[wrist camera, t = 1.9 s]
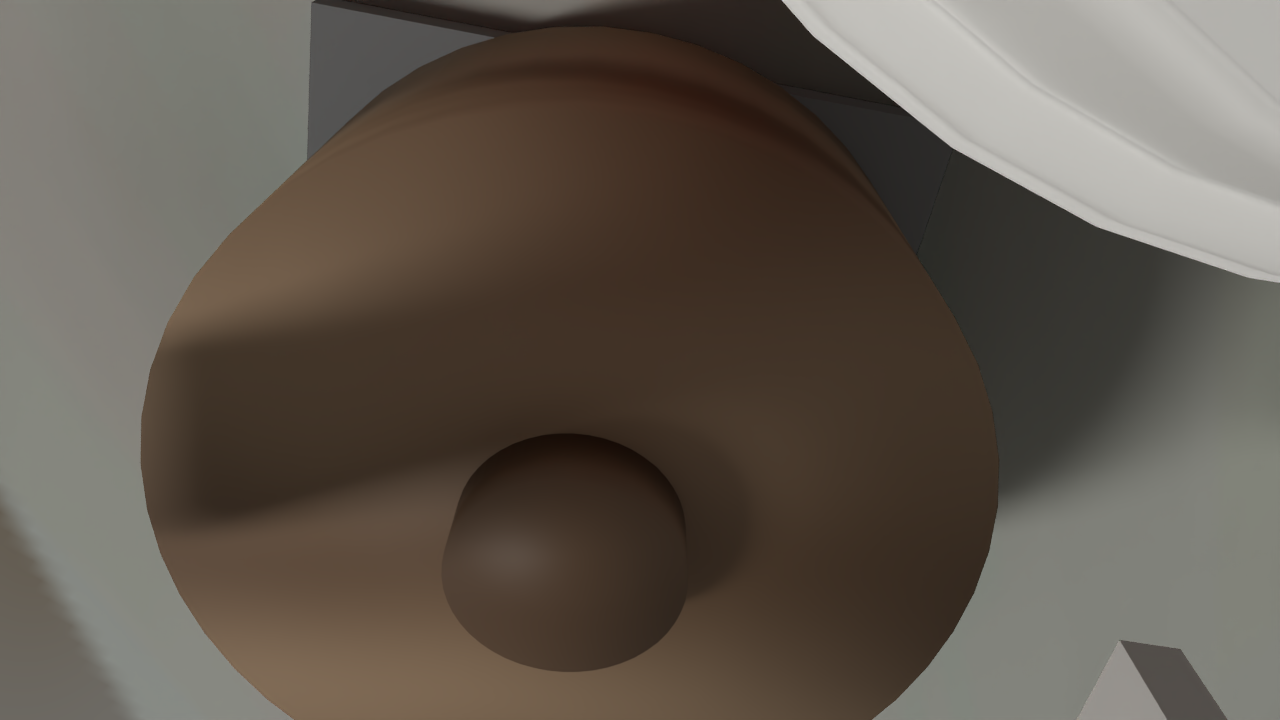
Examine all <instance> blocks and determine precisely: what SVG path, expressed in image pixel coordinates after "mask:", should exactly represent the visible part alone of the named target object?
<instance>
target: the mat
mask: <svg viewBox="0 0 1280 720" xmlns="http://www.w3.org/2000/svg"><path fill="white" fill-rule="evenodd" d="M506 34H511V32H505V31H500V30H495V29H490V28H485V27H479V26H474V25H469V24H464V23H459V22H453V21H448V20H443V19H438V18H433V17H427V16H422V15H417V14H412V13H407V12H401V11H396V10H391V9H386V8H381V7H376V6H370V5H365V4H360V3H355V2H350V1H344V0H315V1H313V2H312V4H311V41H310V77H309V114H308V151H307V160H308V159H309V158H310V157H311V156H312V155H313V154H314V153H315V152H317V151H318V150H319V149H320V148H321V147H322V146H323V145H324V144H325V143H326V142H327V141H328V140H329V139H330V138H331V137H332V136H333V135H334V134H335V133H336V132H338V131H339V130H340V129H341V128H342V127H343V126H344V125H345V124H346V123H347V122H348V121H349V120H350V119H351V118H352V117H354V116H355V115H356V114H357V113H358V112H359V111H360V110H362V109H363V108H364V107H365V106H366V105H367V104H368V103H369V102H371V101H372V100H373V99H374V98H375V97H376V96H377V95H379V94H380V93H381V92H382V91H383V90H385V89H386V88H388V87H390V86H391V85H393V84H394V83H396V82H397V81H399V80H400V79H402V78H403V77H405V76H407V75H408V74H410V73H411V72H413V71H414V70H416V69H417V68H419V67H421V66H423V65H425V64H427V63H429V62H432V61H434V60H436V59H438V58H440V57H442V56H445V55H447V54H449V53H451V52H453V51H456V50H458V49H460V48H462V47H466V46H469V45H472V44H476V43H479V42H483V41H486V40H489V39H493V38H496V37H499V36H502V35H506ZM775 84H776V83H775ZM777 85H778V86H780V87H781V88H783V89H784V90H785V91H787V92H788V93H789V94H790V95H791V96H793V97H794V98H795V99H796V100H798V101H799V102H800V103H801V104H803V105H804V106H805V107H806V108H808V109H809V110H810V111H811V112H813V113H814V114H815V115H816V116H817V117H818V118H819V119H820V120H821V121H822V122H823V123H824V124H825V125H826V126H827V127H828V128H829V129H830V130H831V132H832V133H833V134H834V135H835V136H836V137H837V138H838V139H839V140H840V141H841V142H842V143H843V144H844V145H845V146H846V148H847V149H848V150H849V152H850V153H851V155H852V156H853V158H854V159H855V160H856V162H857V163H858V165H859V166H860V168H861V169H862V170H863V172H864V173H865V175H866V176H867V177H868V179H869V180H870V182H871V183H872V185H873V187H874V188H875V190H876V191H877V193H878V195H879V196H880V198H881V199H882V201H883V203H884V204H885V206H886V207H887V209H888V211H889V212H890V214H891V216H892V217H893V219H894V220H895V222H896V224H897V225H898V227H899V228H900V230H901V232H902V233H903V235H904V236H905V238H906V240H907V241H908V243H909V244H910V246H911V248H912V249H913V251H914V253H915V254H916V256H917V253H918V250H919V247H920V244H921V241H922V238H923V235H924V232H925V229H926V226H927V223H928V221H929V218H930V215H931V212H932V209H933V206H934V203H935V200H936V197H937V194H938V191H939V188H940V185H941V182H942V179H943V177H944V174H945V171H946V168H947V165H948V162H949V159H950V156H951V153H952V150H953V148H952V147H950V146H949V145H948V144H947V143H945V142H944V141H943V140H942V139H940V138H939V137H938V136H937V135H935V134H934V133H933V132H932V131H930V130H929V129H928V128H927V127H926V126H924V125H923V124H922V123H921V122H919V121H918V120H917V119H916V118H914V117H913V116H912V115H911V114H909V113H908V112H907V111H906V110H904V109H903V108H900V107H895V106H890V105H885V104H880V103H874V102H869V101H864V100H859V99H854V98H848V97H843V96H838V95H833V94H828V93H823V92H817V91H812V90H807V89H802V88H797V87H791V86H786V85H781V84H777Z"/></svg>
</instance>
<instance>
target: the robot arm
mask: <svg viewBox="0 0 1280 720" xmlns="http://www.w3.org/2000/svg"><path fill="white" fill-rule="evenodd" d="M1077 720H1227V718H1226V717H1225V715H1224V714H1223V712H1222V711H1221V709H1220V708H1219V706H1218V705H1217V703H1216V702H1215V700H1214V699H1213V697H1212V696H1211V694H1210V693H1209V691H1208V690H1207V688H1206V687H1205V685H1204V684H1203V682H1202V681H1201V679H1200V678H1199V676H1198V675H1197V673H1196V672H1195V670H1194V669H1193V667H1192V666H1191V664H1190V663H1189V661H1188V660H1187V658H1186V657H1185V655H1184V654H1183V652H1182V651H1181V649H1176V648H1169V647H1163V646H1156V645H1149V644H1143V643H1136V642H1129V641H1123V640H1119V642H1118V644H1117V645H1116V647H1115V649H1114V651H1113V653H1112V655H1111V657H1110V658H1109V660H1108V662H1107V664H1106V666H1105V668H1104V670H1103V672H1102V673H1101V675H1100V677H1099V679H1098V681H1097V683H1096V685H1095V686H1094V688H1093V690H1092V692H1091V694H1090V696H1089V698H1088V699H1087V701H1086V703H1085V705H1084V707H1083V709H1082V711H1081V713H1080V714H1079V716H1078V718H1077Z"/></svg>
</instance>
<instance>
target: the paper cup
mask: <svg viewBox="0 0 1280 720" xmlns="http://www.w3.org/2000/svg"><path fill="white" fill-rule="evenodd" d="M782 1H783V2H784V3H785V5H786V6H787V7H788V8H789V9H790V10H791V11H792V13H793V14H794V15H795V16H796V17H797V18H798V19H799V21H800V22H801V23H802V24H803V25H804V26H805V27H806V28H807V30H808V31H809V32H810V33H811V34H812V35H813V36H814V37H815V38H816V39H817V40H819V41H820V42H821V43H822V44H824V45H825V46H826V47H827V48H829V49H830V50H831V51H832V52H834V53H835V54H836V55H837V56H839V57H840V58H841V59H842V60H844V61H845V62H846V63H847V64H849V65H850V66H851V67H852V68H854V69H855V70H856V71H857V72H858V73H860V74H861V75H862V76H863V77H865V78H866V79H867V80H868V81H870V82H871V83H872V84H873V85H875V86H876V87H877V88H878V89H880V90H881V91H882V92H883V93H885V94H886V95H887V96H888V97H890V98H891V99H892V100H893V101H894V102H896V103H897V104H898V105H899V106H901V107H902V108H903V109H904V110H906V111H907V112H908V113H909V114H911V115H912V116H913V117H914V118H916V119H917V120H918V121H919V122H921V123H922V124H923V125H924V126H926V127H927V128H928V129H929V130H930V131H932V132H933V133H934V134H935V135H937V136H938V137H939V138H940V139H942V140H943V141H944V142H945V143H947V144H948V145H949V146H950V147H952V148H953V149H955V150H957V151H959V152H961V153H963V154H964V155H966V156H968V157H970V158H972V159H974V160H975V161H977V162H979V163H981V164H983V165H984V166H986V167H988V168H990V169H992V170H994V171H995V172H997V173H999V174H1001V175H1003V176H1005V177H1006V178H1008V179H1010V180H1012V181H1014V182H1015V183H1017V184H1019V185H1021V186H1023V187H1025V188H1026V189H1028V190H1030V191H1032V192H1034V193H1036V194H1037V195H1039V196H1041V197H1043V198H1045V199H1047V200H1048V201H1050V202H1052V203H1054V204H1056V205H1057V206H1059V207H1061V208H1063V209H1065V210H1067V211H1068V212H1070V213H1072V214H1074V215H1076V216H1078V217H1079V218H1081V219H1083V220H1085V221H1087V222H1088V223H1090V224H1092V225H1094V226H1096V227H1098V228H1101V229H1104V230H1107V231H1110V232H1113V233H1116V234H1119V235H1122V236H1125V237H1128V238H1131V239H1134V240H1137V241H1140V242H1143V243H1146V244H1149V245H1152V246H1155V247H1158V248H1161V249H1164V250H1167V251H1170V252H1173V253H1176V254H1179V255H1182V256H1185V257H1188V258H1191V259H1194V260H1197V261H1200V262H1203V263H1206V264H1209V265H1212V266H1215V267H1218V268H1221V269H1224V270H1227V271H1230V272H1233V273H1236V274H1239V275H1241V276H1244V277H1247V278H1253V279H1259V280H1265V281H1272V282H1278V283H1280V0H782Z"/></svg>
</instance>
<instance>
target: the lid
mask: <svg viewBox="0 0 1280 720" xmlns="http://www.w3.org/2000/svg"><path fill="white" fill-rule="evenodd" d="M141 470H142V477H143V484H144V491H145V498H146V505H147V511H148V514H149V517H150V520H151V524H152V527H153V530H154V534H155V537H156V540H157V543H158V547H159V550H160V553H161V556H162V558H163V560H164V562H165V564H166V566H167V568H168V570H169V573H170V575H171V577H172V579H173V581H174V583H175V585H176V587H177V590H178V592H179V594H180V596H181V597H182V599H183V600H184V602H185V603H186V605H187V606H188V608H189V610H190V611H191V613H192V614H193V616H194V617H195V619H196V620H197V622H198V623H199V625H200V627H201V628H202V630H203V631H204V633H205V634H206V635H207V636H208V638H209V639H210V640H211V641H212V642H213V644H214V645H215V646H216V647H217V648H218V650H219V651H220V652H221V653H222V654H223V655H224V657H225V658H226V659H227V660H228V661H229V663H230V664H231V665H232V666H233V667H234V668H235V669H236V670H237V671H238V672H239V673H240V674H241V675H242V676H243V677H244V678H245V679H246V680H247V681H248V682H249V683H250V684H252V685H253V686H254V687H255V688H256V689H257V690H258V691H259V692H260V693H261V694H262V695H263V696H264V697H265V698H266V699H267V700H269V701H270V702H271V703H273V704H274V705H275V706H277V707H278V708H279V709H281V710H282V711H283V712H285V713H286V714H287V715H289V716H290V717H291V718H293V719H294V720H872V719H873V718H874V717H876V716H877V715H878V714H879V713H880V712H882V711H883V710H884V709H885V708H887V707H888V706H889V705H890V704H891V703H893V702H894V701H895V700H896V699H897V698H898V697H899V696H900V695H901V694H902V693H903V692H904V691H905V690H906V689H907V688H908V687H909V686H910V685H911V684H912V683H913V682H914V681H915V679H916V678H917V677H918V676H919V675H920V674H921V673H922V672H923V671H924V670H925V669H926V668H927V667H928V665H929V664H930V663H931V661H932V660H933V659H934V657H935V656H936V655H937V653H938V652H939V650H940V649H941V648H942V646H943V645H944V644H945V642H946V641H947V640H948V638H949V637H950V635H951V634H952V633H953V631H954V629H955V627H956V626H957V624H958V622H959V620H960V618H961V616H962V614H963V613H964V611H965V609H966V607H967V605H968V603H969V601H970V599H971V598H972V596H973V594H974V592H975V589H976V586H977V583H978V581H979V578H980V575H981V572H982V569H983V567H984V564H985V561H986V558H987V556H988V553H989V549H990V544H991V539H992V533H993V528H994V523H995V518H996V513H997V508H998V479H999V456H998V448H997V441H996V434H995V426H994V419H993V412H992V409H991V405H990V402H989V399H988V396H987V392H986V389H985V386H984V383H983V379H982V376H981V373H980V369H979V366H978V363H977V361H976V359H975V357H974V355H973V353H972V351H971V349H970V347H969V345H968V343H967V341H966V339H965V337H964V335H963V333H962V331H961V329H960V327H959V325H958V323H957V321H956V319H955V317H954V315H953V314H952V312H951V310H950V309H949V307H948V306H947V304H946V302H945V301H944V299H943V298H942V296H941V294H940V293H939V291H938V290H937V288H936V286H935V285H934V283H933V282H932V280H931V278H930V277H929V275H928V273H927V272H926V270H925V269H924V267H923V265H922V264H921V262H920V261H919V259H918V257H917V256H916V254H915V253H914V251H913V249H912V248H911V246H910V244H909V243H908V241H907V240H906V238H905V236H904V235H903V233H902V232H901V230H900V228H899V227H898V225H897V224H896V222H895V220H894V219H893V217H892V216H891V214H890V212H889V211H888V209H887V207H886V206H885V204H884V203H883V201H882V199H881V198H880V196H879V195H878V193H877V191H876V190H875V188H874V187H873V185H872V183H871V182H870V180H869V179H868V177H867V176H866V175H865V173H864V172H863V170H862V169H861V168H860V166H859V165H858V163H857V162H856V160H855V159H854V158H853V156H852V155H851V153H850V152H849V150H848V149H847V148H846V146H845V145H844V144H843V143H842V142H841V141H840V140H839V139H838V138H837V137H836V136H835V135H834V134H833V133H832V132H831V130H830V129H829V128H828V127H827V126H826V125H825V124H824V123H823V122H822V121H821V120H820V119H819V118H818V117H817V116H816V115H815V114H814V113H813V112H811V111H810V110H809V109H808V108H806V107H805V106H804V105H803V104H801V103H800V102H799V101H798V100H796V99H795V98H794V97H793V96H791V95H790V94H789V93H788V92H787V91H785V90H784V89H783V88H781V87H780V86H778V85H777V84H775V83H773V82H772V81H770V80H768V79H767V78H765V77H763V76H762V75H760V74H758V73H756V72H755V71H753V70H751V69H750V68H748V67H746V66H745V65H743V64H741V63H739V62H737V61H734V60H732V59H730V58H727V57H725V56H722V55H720V54H718V53H715V52H713V51H710V50H708V49H706V48H703V47H701V46H698V45H696V44H692V43H688V42H684V41H681V40H677V39H673V38H669V37H666V36H662V35H658V34H654V33H651V32H643V31H635V30H627V29H619V28H611V27H603V26H599V27H551V28H544V29H538V30H531V31H524V32H518V33H511V34H506V35H502V36H499V37H496V38H493V39H489V40H486V41H483V42H479V43H476V44H472V45H469V46H466V47H462V48H460V49H458V50H456V51H453V52H451V53H449V54H447V55H445V56H442V57H440V58H438V59H436V60H434V61H432V62H429V63H427V64H425V65H423V66H421V67H419V68H417V69H416V70H414V71H413V72H411V73H410V74H408V75H407V76H405V77H403V78H402V79H400V80H399V81H397V82H396V83H394V84H393V85H391V86H390V87H388V88H386V89H385V90H383V91H382V92H381V93H380V94H379V95H377V96H376V97H375V98H374V99H373V100H372V101H371V102H369V103H368V104H367V105H366V106H365V107H364V108H363V109H362V110H360V111H359V112H358V113H357V114H356V115H355V116H354V117H352V118H351V119H350V120H349V121H348V122H347V123H346V124H345V125H344V126H343V127H342V128H341V129H340V130H339V131H338V132H336V133H335V134H334V135H333V136H332V137H331V138H330V139H329V140H328V141H327V142H326V143H325V144H324V145H323V146H322V147H321V148H320V149H319V150H318V151H317V152H315V153H314V154H313V155H312V156H311V157H310V158H309V159H308V160H307V161H306V162H305V163H304V164H303V165H302V166H301V167H300V168H299V169H298V170H297V171H296V172H294V173H293V174H292V175H291V176H290V177H289V178H288V179H287V180H286V181H285V182H284V183H283V184H282V185H281V186H280V187H279V188H278V189H277V190H276V191H274V192H273V193H272V194H271V195H270V196H269V197H268V198H267V199H266V200H265V201H264V202H263V203H262V204H261V205H260V206H259V207H258V208H257V209H256V210H255V211H253V212H252V213H251V214H250V215H249V216H248V217H247V218H246V219H245V220H244V221H243V222H242V223H241V224H240V225H239V226H238V227H237V228H236V229H235V230H234V231H232V232H231V233H230V234H229V235H228V237H227V238H226V239H225V240H224V241H223V243H222V244H221V245H220V246H219V248H218V249H217V250H216V251H215V252H214V254H213V255H212V256H211V257H210V258H209V260H208V261H207V262H206V263H205V264H204V266H203V267H202V268H201V269H200V271H199V272H198V273H197V274H196V275H195V277H194V278H193V280H192V282H191V283H190V285H189V287H188V288H187V290H186V292H185V294H184V295H183V297H182V299H181V301H180V302H179V304H178V306H177V307H176V309H175V311H174V313H173V314H172V316H171V318H170V320H169V321H168V323H167V326H166V329H165V331H164V334H163V337H162V340H161V342H160V345H159V348H158V350H157V353H156V356H155V358H154V361H153V364H152V367H151V369H150V374H149V380H148V385H147V390H146V396H145V401H144V406H143V412H142V418H141Z"/></svg>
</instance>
